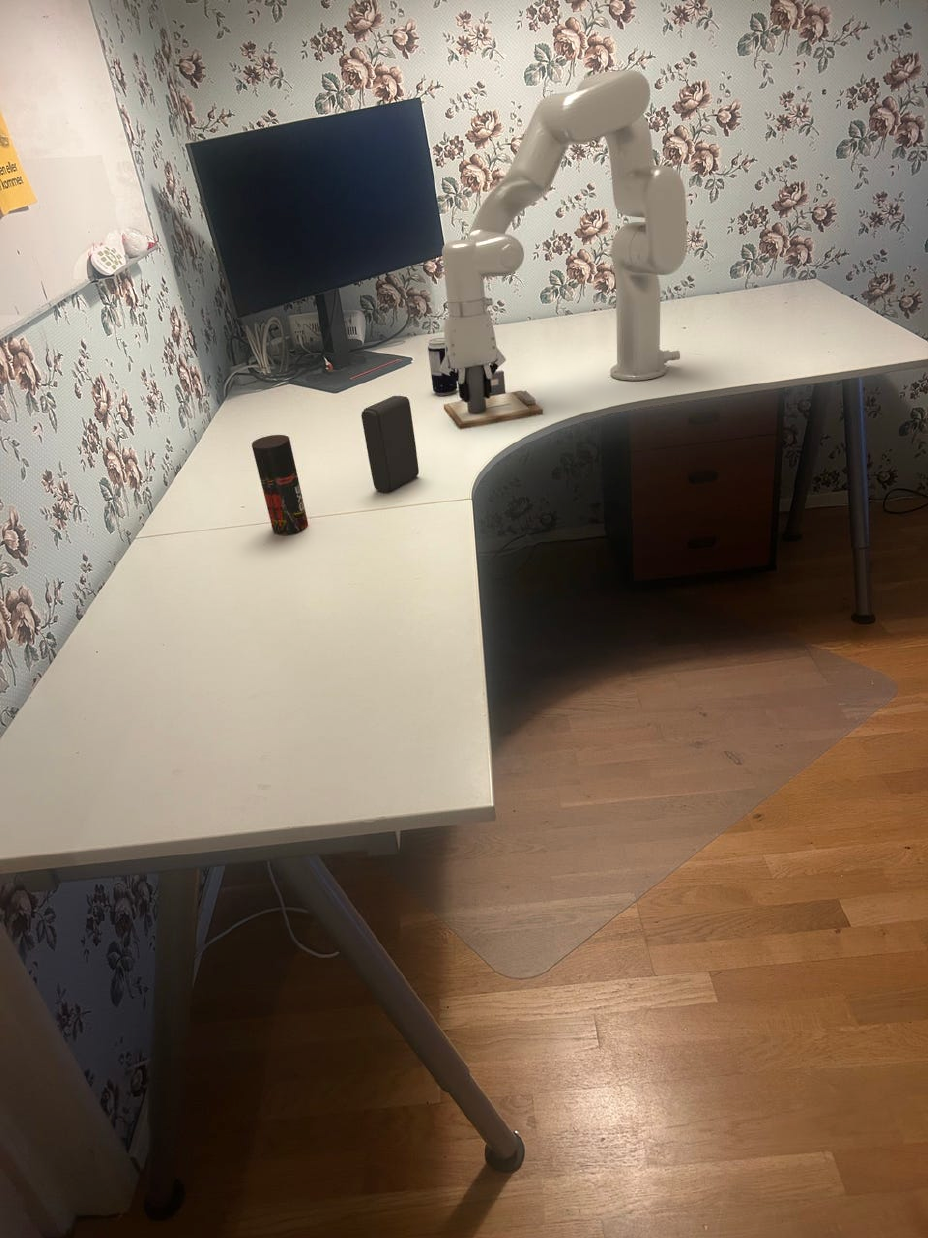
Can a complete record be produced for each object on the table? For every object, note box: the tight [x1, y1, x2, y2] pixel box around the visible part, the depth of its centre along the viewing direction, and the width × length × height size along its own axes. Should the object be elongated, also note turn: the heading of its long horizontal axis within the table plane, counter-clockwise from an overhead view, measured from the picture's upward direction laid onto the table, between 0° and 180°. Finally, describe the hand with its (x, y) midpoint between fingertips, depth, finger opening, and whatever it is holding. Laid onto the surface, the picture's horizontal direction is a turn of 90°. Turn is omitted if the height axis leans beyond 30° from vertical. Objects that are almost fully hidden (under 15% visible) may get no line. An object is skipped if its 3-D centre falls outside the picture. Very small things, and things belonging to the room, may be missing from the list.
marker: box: [464, 363, 487, 413], centre depth 176 cm, size 4×4×12 cm
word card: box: [460, 370, 506, 401], centre depth 190 cm, size 10×1×5 cm, turn 103°
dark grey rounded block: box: [360, 395, 420, 493], centre depth 149 cm, size 9×4×15 cm, turn 141°
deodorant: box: [251, 434, 309, 536], centre depth 138 cm, size 6×6×15 cm
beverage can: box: [427, 337, 458, 397], centre depth 194 cm, size 6×6×12 cm
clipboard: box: [442, 390, 544, 430], centre depth 182 cm, size 18×15×2 cm
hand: (475, 397), depth 178 cm, fingers closed on marker, 4 cm apart
